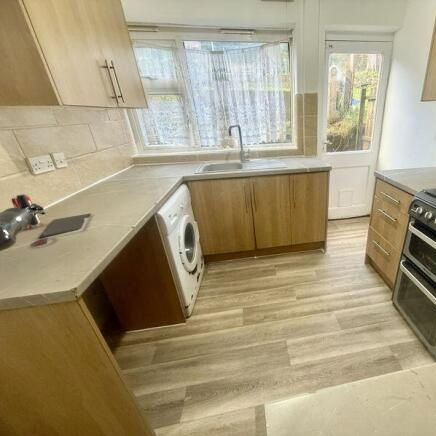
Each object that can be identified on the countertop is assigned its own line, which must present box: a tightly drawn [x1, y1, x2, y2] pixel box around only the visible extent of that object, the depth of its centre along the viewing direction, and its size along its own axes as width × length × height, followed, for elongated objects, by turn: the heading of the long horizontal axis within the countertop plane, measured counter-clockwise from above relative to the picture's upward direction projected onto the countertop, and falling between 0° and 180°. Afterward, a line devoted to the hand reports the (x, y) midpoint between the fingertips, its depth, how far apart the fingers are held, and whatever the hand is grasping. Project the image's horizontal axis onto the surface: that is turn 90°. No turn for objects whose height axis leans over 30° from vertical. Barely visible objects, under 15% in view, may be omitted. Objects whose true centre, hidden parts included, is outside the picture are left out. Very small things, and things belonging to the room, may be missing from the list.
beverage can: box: [11, 194, 42, 230], centre depth 112 cm, size 6×6×15 cm
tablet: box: [38, 213, 92, 240], centre depth 115 cm, size 15×22×1 cm
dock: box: [30, 237, 49, 247], centre depth 100 cm, size 7×7×1 cm
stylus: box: [15, 194, 41, 229], centre depth 94 cm, size 2×2×13 cm
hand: (29, 206), depth 96 cm, fingers closed on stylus, 2 cm apart
